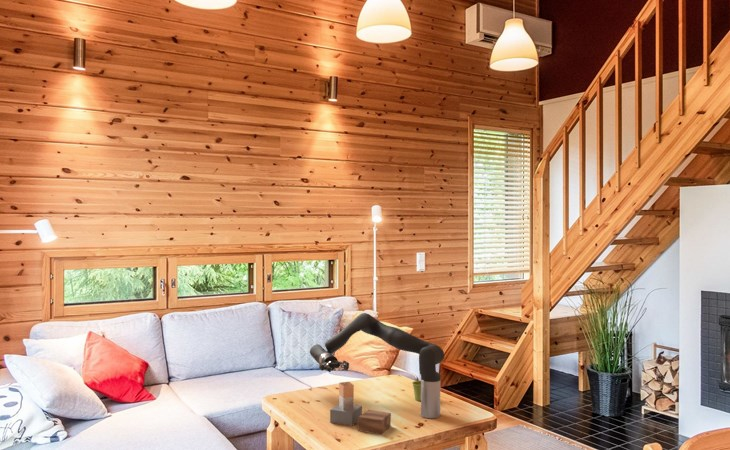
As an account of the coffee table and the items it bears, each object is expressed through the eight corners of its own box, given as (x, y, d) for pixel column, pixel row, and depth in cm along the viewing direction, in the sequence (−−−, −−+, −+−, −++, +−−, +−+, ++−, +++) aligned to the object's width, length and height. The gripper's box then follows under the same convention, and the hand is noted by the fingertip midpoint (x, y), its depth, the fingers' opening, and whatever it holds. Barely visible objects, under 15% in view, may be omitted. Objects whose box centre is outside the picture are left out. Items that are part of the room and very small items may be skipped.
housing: (349, 405, 279) (349, 381, 279) (353, 408, 274) (353, 385, 274) (339, 406, 277) (339, 382, 277) (343, 410, 272) (343, 386, 272)
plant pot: (419, 395, 315) (420, 379, 315) (433, 399, 308) (434, 383, 308) (408, 399, 308) (408, 382, 308) (422, 403, 302) (422, 386, 301)
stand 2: (368, 422, 273) (368, 409, 273) (390, 426, 268) (390, 412, 268) (358, 430, 263) (358, 416, 263) (381, 434, 258) (381, 420, 258)
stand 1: (340, 415, 283) (340, 402, 283) (361, 418, 278) (361, 405, 278) (330, 422, 273) (330, 409, 273) (351, 425, 268) (351, 412, 268)
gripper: (314, 354, 298) (324, 362, 283) (341, 352, 304) (352, 360, 288) (314, 369, 298) (324, 378, 283) (341, 367, 304) (352, 375, 289)
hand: (338, 369), depth 286 cm, fingers open, 8 cm apart
